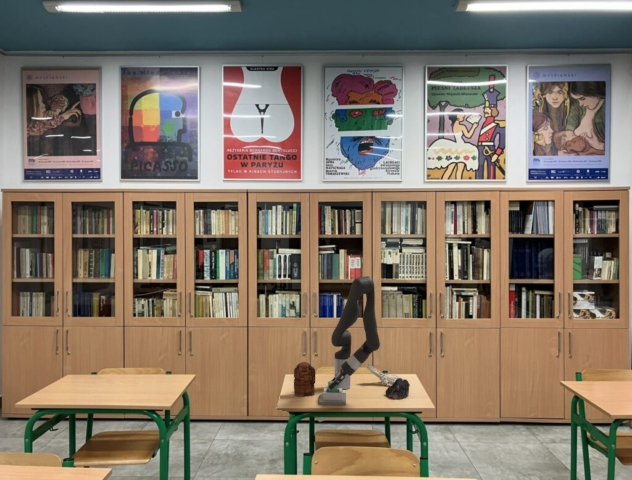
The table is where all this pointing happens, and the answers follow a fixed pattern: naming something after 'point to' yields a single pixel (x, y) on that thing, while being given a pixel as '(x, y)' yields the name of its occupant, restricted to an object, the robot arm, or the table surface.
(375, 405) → the table surface
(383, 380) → the skeletal model
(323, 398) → the socket board
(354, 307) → the robot arm
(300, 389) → the wooden figurine
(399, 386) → the crystal cluster
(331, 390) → the green cap
